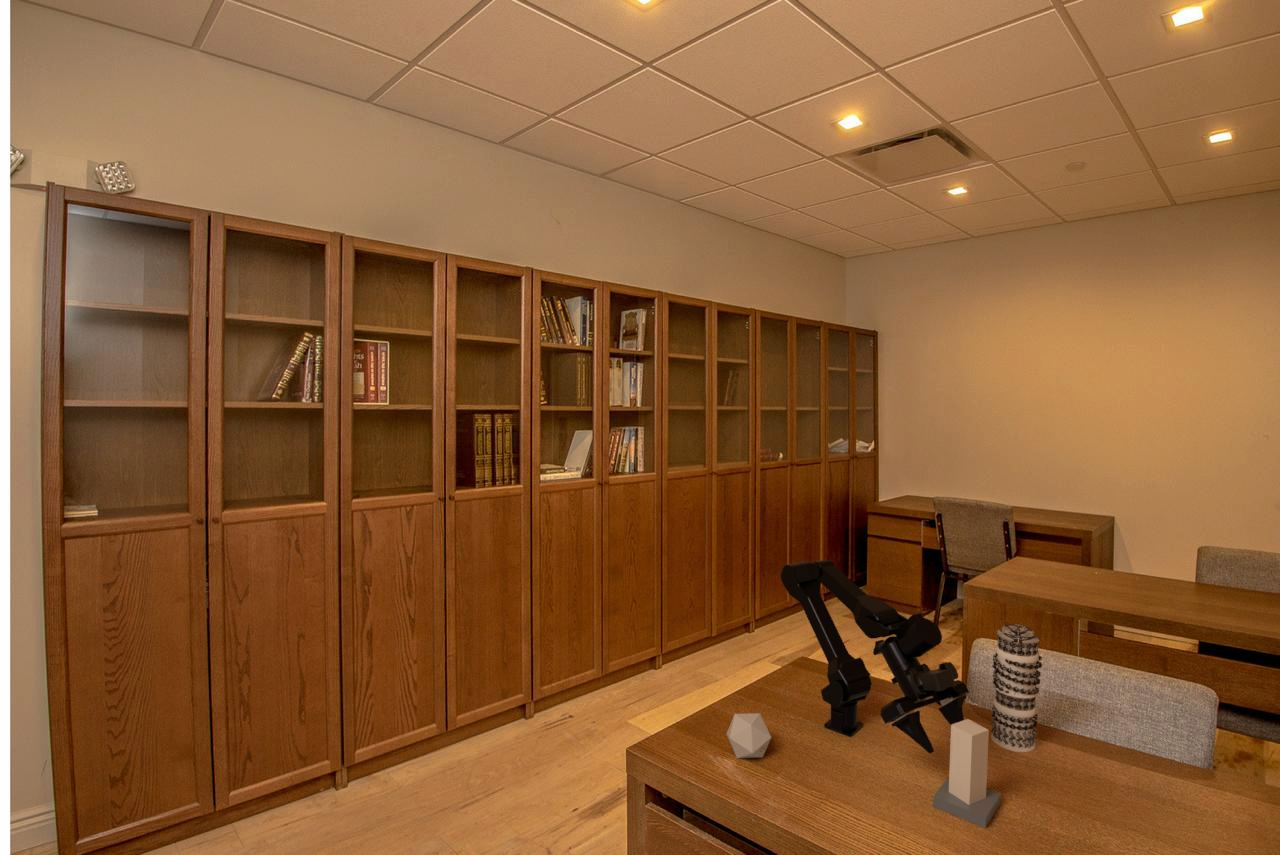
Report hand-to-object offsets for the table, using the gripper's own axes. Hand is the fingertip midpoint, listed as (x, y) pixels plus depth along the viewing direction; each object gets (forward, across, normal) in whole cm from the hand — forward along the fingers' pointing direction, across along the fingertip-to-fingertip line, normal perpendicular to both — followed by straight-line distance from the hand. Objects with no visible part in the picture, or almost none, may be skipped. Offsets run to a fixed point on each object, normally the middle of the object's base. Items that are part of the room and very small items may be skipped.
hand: (949, 746), depth 132 cm
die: (-13, -25, +27) cm, 39 cm away
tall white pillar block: (+8, 0, +2) cm, 8 cm away
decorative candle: (+3, +27, +11) cm, 29 cm away
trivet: (+10, 0, +3) cm, 10 cm away
